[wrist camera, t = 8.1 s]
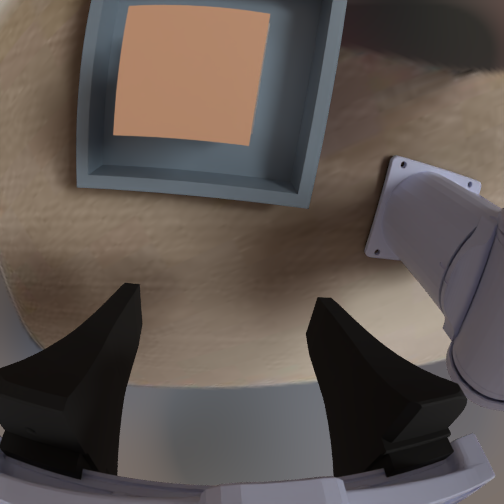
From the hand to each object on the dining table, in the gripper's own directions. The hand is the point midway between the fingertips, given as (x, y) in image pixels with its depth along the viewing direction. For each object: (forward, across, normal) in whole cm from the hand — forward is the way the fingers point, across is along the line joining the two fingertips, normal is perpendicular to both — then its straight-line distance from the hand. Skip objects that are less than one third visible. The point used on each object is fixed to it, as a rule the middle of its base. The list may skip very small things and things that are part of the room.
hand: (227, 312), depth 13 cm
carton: (+6, +2, -9) cm, 11 cm away
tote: (+10, +2, -9) cm, 14 cm away
